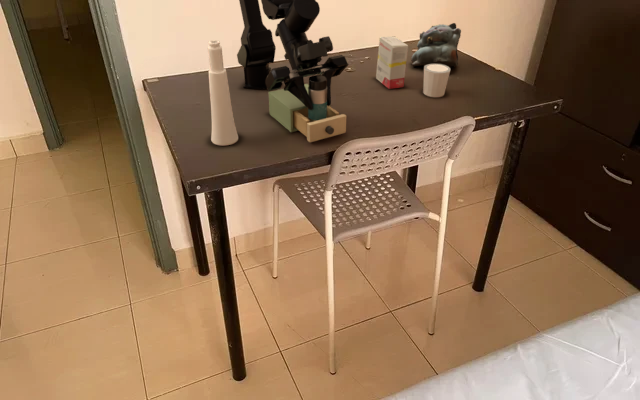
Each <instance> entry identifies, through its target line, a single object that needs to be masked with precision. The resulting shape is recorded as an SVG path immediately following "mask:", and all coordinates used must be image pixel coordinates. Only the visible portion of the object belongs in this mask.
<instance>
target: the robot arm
mask: <svg viewBox="0 0 640 400" xmlns="http://www.w3.org/2000/svg"><path fill="white" fill-rule="evenodd" d="M238 1H239V7H240V11H241V17H242V21H243V30H242V33H241V36H240V44H241V45H240V47H239V49H238V52H237V53H236V59H237V63H238V64H239V65H240V66H242V67H243V77H244V84H243V85H242V88H243V89H251V90H253V89H254V90H267V91H268V92H272V91H276V90H281V89H282V86H283V84H284V87H283V89H284V91H289V92H290V93H291V94H293V95H294V96H295V97H297V98H298V99H299V100H300V101H301V102H302V103H303V104H304V105H305V106H306V107H307V108H308V109H309V110H312V109H313V106H312V102H311V100H310V97H309V95H308V93H307V90H306V88H305V86H304V84H305V80H304V79H305V78H307V77H311V76H314V75H321V76H325V77H326V78H327V105H328V106H330V105H332V92H331V91H332V89H331V88H332V87H331V84H332V78H335V77H338V76H340V75H341V74H342V73H343V72H344V70H345V69H346V68H347V67H348V66H349V62H348V59H347V57H346V56H345V55H343V54H339V55H334V56H329V54H328V53H329V52H333V50H334V44H333V41H332V38H331V37H330V36H329V35H327V36H322V37H320V38H318V41H316V42H314V41H313V40H312V39H308V36H307V33H306V32H308V31H309V30H310V28H311V26H312V25H313V24H314V22H315V20H316V19H317V18H318V16H319V15H320V11H321V8H320V4H319V2H318V1H316V0H260V2H261V6H260V2H259V0H238ZM260 7H262V10H263V11H262V12H263V13H264V15H265V16H266V17H267V19H268V20H271V21H276V20H280V21H279V23H277V24H276V29H275V32H274V36H275V37H279V39H280V41H281V44H282V47H283V49H284V51H285V53H284V55H283V57H284V59H285V60H286V61H287V60H288V62H289V65H290V67H289V66H287V65H283V66H279V67H274V68H271V67H270V64H274V63H275V58H276V57H275V56H276V51H277V50H276V49H277V48H276V44H275V42H274V38H273V32H272V30H271V29H270V28H269V29H268V28H267V27H266V26H265V24H264V23H263V17H262V13H261V8H260ZM328 56H329V57H328ZM322 57H323V58H324V57H328V58H327V59H326V60H325V62H324V63H321V61H322V60H323V59H322ZM318 63H321V64H318ZM290 68H291V69H290Z"/></svg>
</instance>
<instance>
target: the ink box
mask: <svg viewBox="0 0 640 400" xmlns="http://www.w3.org/2000/svg"><path fill="white" fill-rule="evenodd" d="M377 51H378V52H377V63H376V74H375V79H376V80H377V81H378V82H379V83H381V84H382V85H383V86H385V87H386V88H387V89H388V90H391V89H399V88H405V77H406V69H407V60H408V51H409V45H408V44H407V43H405V42H404V41H402V40H401V39H399V38H398V37H396V36H380V37H379V38H378V50H377Z"/></svg>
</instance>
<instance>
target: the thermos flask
mask: <svg viewBox="0 0 640 400" xmlns="http://www.w3.org/2000/svg"><path fill="white" fill-rule="evenodd" d="M308 85H309V86H308V95H309V97H310V100H311V102H312V106H313V109H312V110H309V109H308V120H309V123H310V122H314V121H318V120H322V119H325V118H327V78H326V77H325V76H321V75H317V74H316V75H311V76H308Z"/></svg>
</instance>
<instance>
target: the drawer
mask: <svg viewBox="0 0 640 400" xmlns="http://www.w3.org/2000/svg"><path fill="white" fill-rule="evenodd" d="M293 126H294V127H295V128H297V129H298V132H300V133H301V134H302V135H304V137H306V140H307V142H308V143H313V142H317V141H320V140H323V139H328V138H331V137H334V136H338V135H341V134H345V133H346V132H347V115H346V114H345V113H341V114H340V112H338V111H337V110H336V109H335V108H333V107H332V106H331V107H330V106H328V105H327V118H325V119H322V120H318V121H314V122H310V123H309V120H308V108H304V109H300V110H296V111H293Z"/></svg>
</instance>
